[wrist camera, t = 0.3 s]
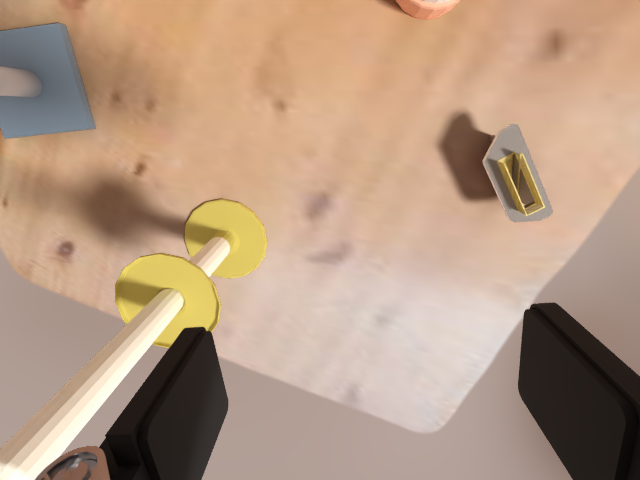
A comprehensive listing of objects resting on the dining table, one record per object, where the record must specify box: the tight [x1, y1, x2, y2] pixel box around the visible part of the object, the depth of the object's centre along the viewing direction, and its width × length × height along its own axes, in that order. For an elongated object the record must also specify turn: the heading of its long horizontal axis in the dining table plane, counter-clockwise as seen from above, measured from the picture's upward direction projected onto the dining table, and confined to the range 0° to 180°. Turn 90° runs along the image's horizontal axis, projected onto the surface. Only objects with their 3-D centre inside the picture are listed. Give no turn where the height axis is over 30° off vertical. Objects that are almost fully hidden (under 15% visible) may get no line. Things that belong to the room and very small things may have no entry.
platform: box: [483, 124, 553, 222], centre depth 36 cm, size 12×18×7 cm, turn 31°
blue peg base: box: [0, 23, 96, 139], centre depth 35 cm, size 10×10×8 cm
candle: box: [0, 199, 267, 480], centre depth 28 cm, size 10×10×32 cm
